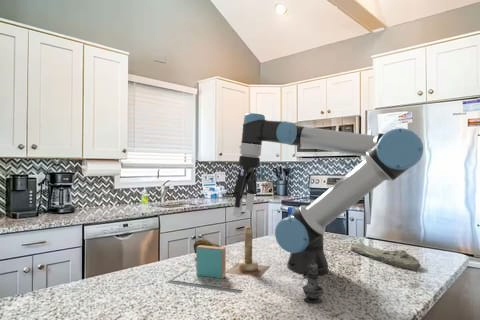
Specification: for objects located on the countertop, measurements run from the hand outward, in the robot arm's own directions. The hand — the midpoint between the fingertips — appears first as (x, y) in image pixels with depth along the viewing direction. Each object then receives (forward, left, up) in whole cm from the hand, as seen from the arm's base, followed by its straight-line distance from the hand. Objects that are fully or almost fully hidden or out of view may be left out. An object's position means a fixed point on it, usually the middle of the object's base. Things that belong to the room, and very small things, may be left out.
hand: (243, 213), depth 125 cm
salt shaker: (-28, +17, -22) cm, 39 cm away
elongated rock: (-49, -38, -22) cm, 65 cm away
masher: (-2, -1, -21) cm, 21 cm away
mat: (+6, +14, -22) cm, 27 cm away
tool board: (-2, -1, -22) cm, 22 cm away
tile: (+8, +10, -21) cm, 25 cm away
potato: (+20, -13, -22) cm, 32 cm away
